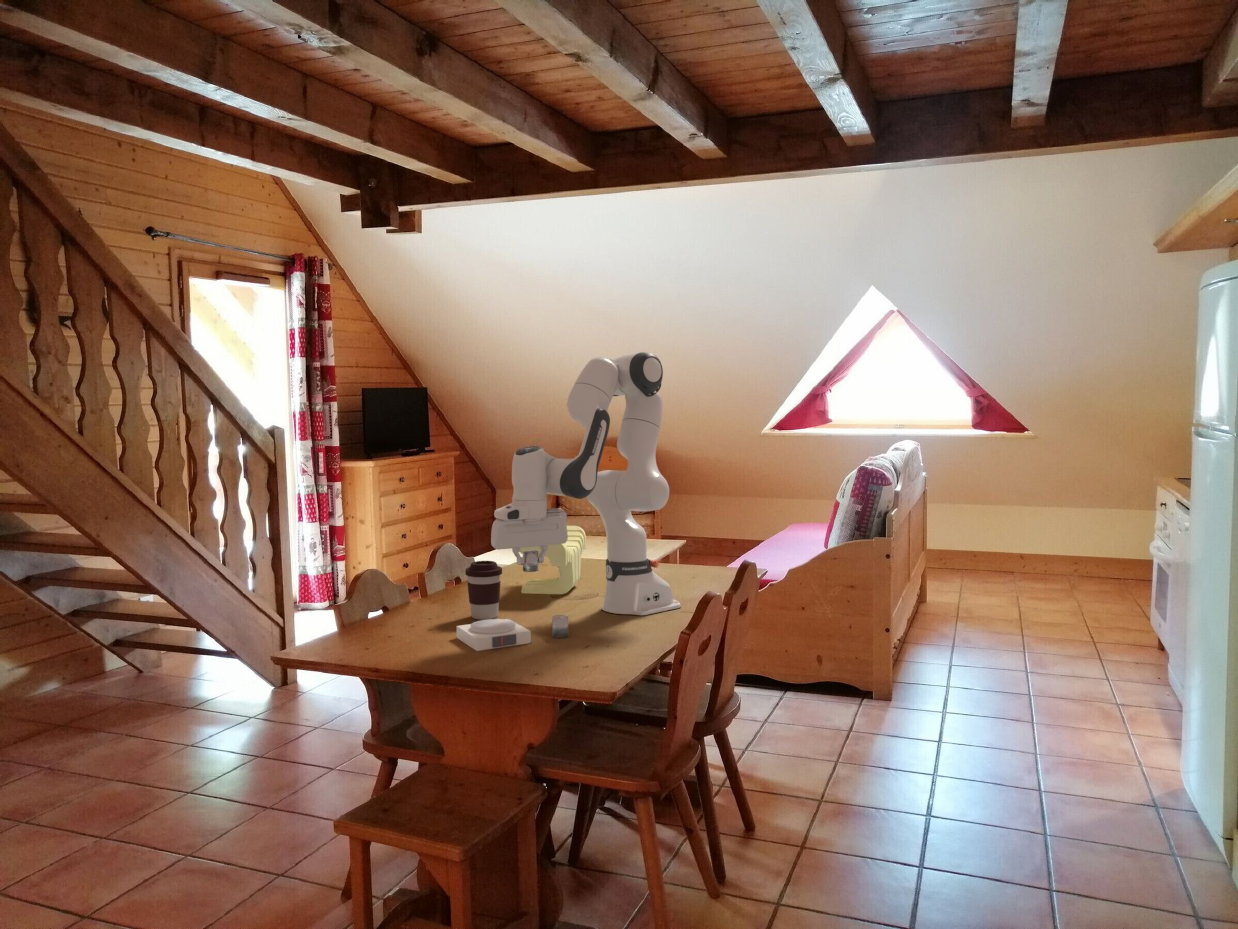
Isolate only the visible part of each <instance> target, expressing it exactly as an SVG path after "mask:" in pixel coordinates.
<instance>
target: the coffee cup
mask: <svg viewBox="0 0 1238 929" xmlns="http://www.w3.org/2000/svg"><path fill="white" fill-rule="evenodd" d="M502 574H503V567H502V566H499V565H498V563H497V562H496V561H493V560H477V561H473V562H471V563H470V566H469V567H466V568H465V576H467V592H468V601H469V604H470V605H469V606H470V615H471V618H472V619H474V620H479V621H481V620H488V619H497V617H499V604H500V603H499V602H500V599H501V598H500V597H501V575H502Z"/></svg>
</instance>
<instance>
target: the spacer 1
mask: <svg viewBox="0 0 1238 929" xmlns="http://www.w3.org/2000/svg"><path fill="white" fill-rule="evenodd" d="M522 557H523V558H525V561H524V562H525V564H524V565H522V572H525V573H535V572H539V563H538V551H537V550H525V551H523V554H522Z"/></svg>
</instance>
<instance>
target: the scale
mask: <svg viewBox="0 0 1238 929" xmlns="http://www.w3.org/2000/svg"><path fill="white" fill-rule="evenodd" d="M531 633H532V631H531V630H529V629H528V628H526V627H524V626H522V625H521V624H519V623H517V622H515V621H513V620H512V619H509V618H505V619H504V618H493V619H486V620H477V621H474V622H472V623H470V624H462V625H456V638H457V639H458V640H460V641H461V642H463V643H464V644H465V645H467V646H468V647H470V648H471V649H473V650H475V652H478V651H479V652H480V651H487V650H492V649H493V650H495V649H500V648H506V647H507V648H508V647H513V646H519V645H525V644H532V637H531V635H532V634H531Z"/></svg>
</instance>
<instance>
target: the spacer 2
mask: <svg viewBox="0 0 1238 929" xmlns="http://www.w3.org/2000/svg"><path fill="white" fill-rule="evenodd" d="M551 619H552V620H551V621H552V622H551V623H552V624H551V625H552V626H551V627H552V630H551V632H552V638H553V639H559V640H560V639H566V638H569V615H566V614H565V615H564V614H557V615H553V616H552V618H551Z"/></svg>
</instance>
